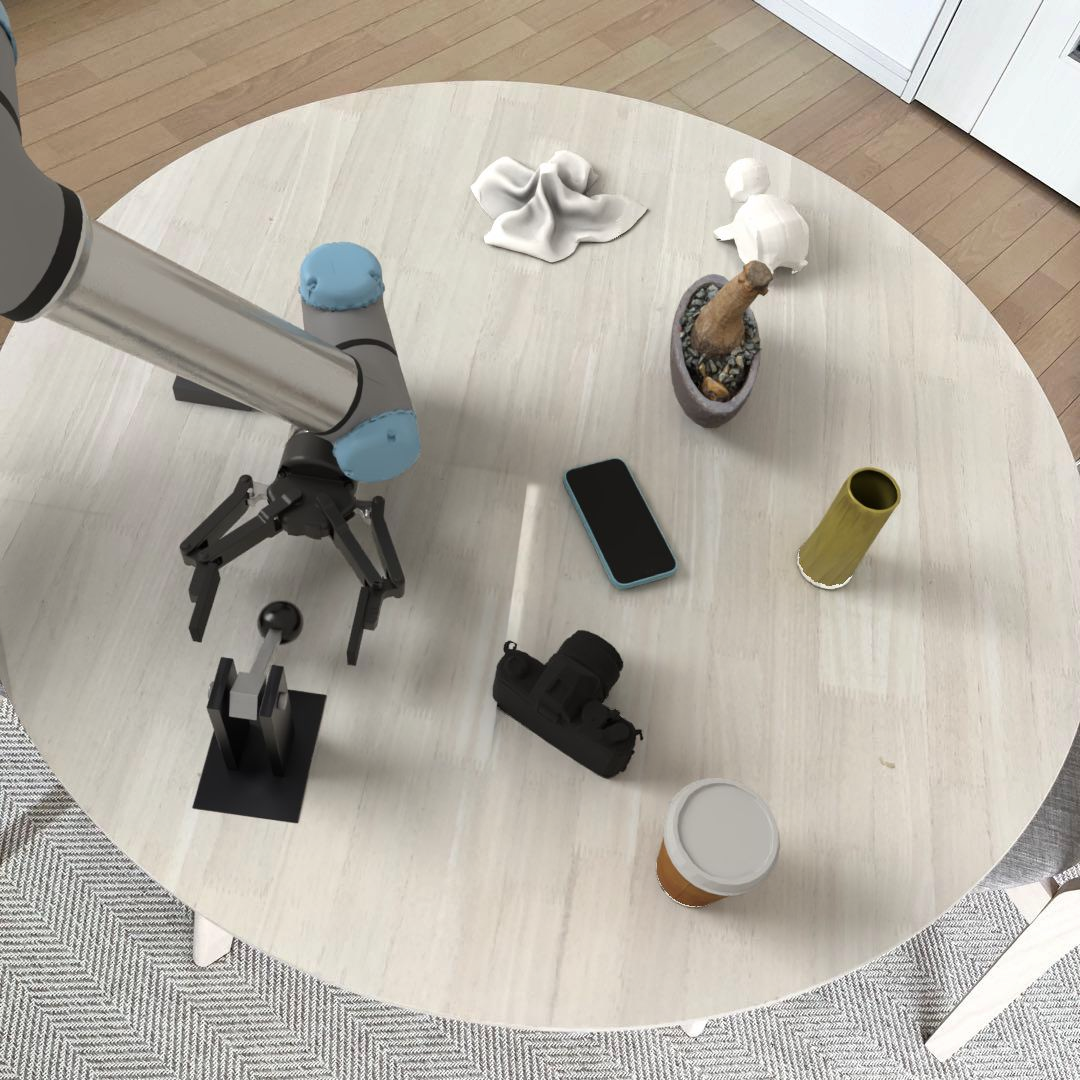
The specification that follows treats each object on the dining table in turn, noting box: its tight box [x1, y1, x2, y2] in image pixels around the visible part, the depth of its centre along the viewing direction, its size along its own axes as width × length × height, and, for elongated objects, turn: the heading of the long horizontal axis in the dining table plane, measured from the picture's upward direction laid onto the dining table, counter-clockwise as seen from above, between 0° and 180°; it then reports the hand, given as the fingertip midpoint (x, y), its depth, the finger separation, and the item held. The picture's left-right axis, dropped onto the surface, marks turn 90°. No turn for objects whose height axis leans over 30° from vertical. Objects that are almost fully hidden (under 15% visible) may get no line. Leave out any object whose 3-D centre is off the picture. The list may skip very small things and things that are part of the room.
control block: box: [171, 374, 253, 413], centre depth 121 cm, size 8×10×4 cm
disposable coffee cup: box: [656, 777, 781, 908], centre depth 95 cm, size 10×10×12 cm
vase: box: [799, 466, 902, 586], centre depth 112 cm, size 6×6×14 cm
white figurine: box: [713, 157, 810, 276], centre depth 139 cm, size 9×8×15 cm
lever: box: [229, 599, 305, 720], centre depth 95 cm, size 14×4×4 cm, turn 175°
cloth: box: [470, 149, 630, 263], centre depth 139 cm, size 22×19×6 cm
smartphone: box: [563, 457, 678, 590], centre depth 117 cm, size 7×1×15 cm
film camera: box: [492, 629, 645, 779], centre depth 103 cm, size 15×10×9 cm, turn 56°
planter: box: [669, 260, 775, 430], centre depth 120 cm, size 15×17×20 cm
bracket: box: [191, 656, 327, 824], centre depth 94 cm, size 12×9×15 cm
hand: (273, 647), depth 98 cm, fingers open, 13 cm apart
